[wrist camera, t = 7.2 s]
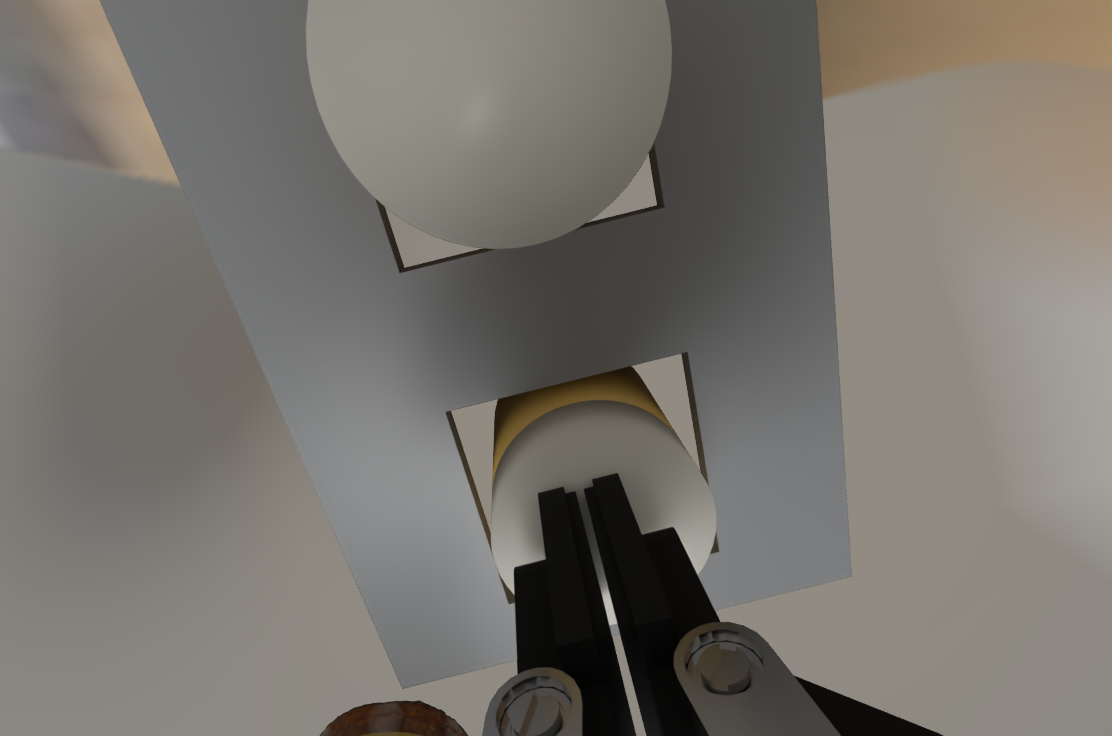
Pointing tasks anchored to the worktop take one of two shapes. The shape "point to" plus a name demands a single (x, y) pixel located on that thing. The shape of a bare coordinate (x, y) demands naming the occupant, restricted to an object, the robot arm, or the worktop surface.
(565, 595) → the robot arm
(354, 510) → the button board
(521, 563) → the button
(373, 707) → the sauce bottle
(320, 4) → the button middle
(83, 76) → the worktop surface
